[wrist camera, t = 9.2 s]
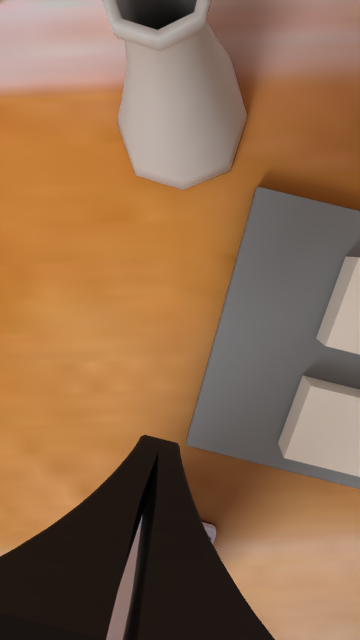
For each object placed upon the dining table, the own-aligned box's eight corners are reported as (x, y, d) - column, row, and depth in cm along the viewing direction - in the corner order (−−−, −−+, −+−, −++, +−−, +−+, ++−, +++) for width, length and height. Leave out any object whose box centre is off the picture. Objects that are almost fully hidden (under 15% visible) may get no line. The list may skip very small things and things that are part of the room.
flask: (248, 40, 16) (316, -263, 7) (245, 188, 18) (295, 121, 8) (113, 51, 17) (-9, -215, 7) (122, 193, 18) (34, 135, 9)
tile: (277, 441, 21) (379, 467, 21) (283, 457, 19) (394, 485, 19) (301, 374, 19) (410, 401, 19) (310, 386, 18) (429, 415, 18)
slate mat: (406, 493, 22) (413, 502, 21) (186, 438, 22) (185, 445, 21) (527, 254, 18) (542, 254, 17) (255, 189, 18) (257, 186, 17)
